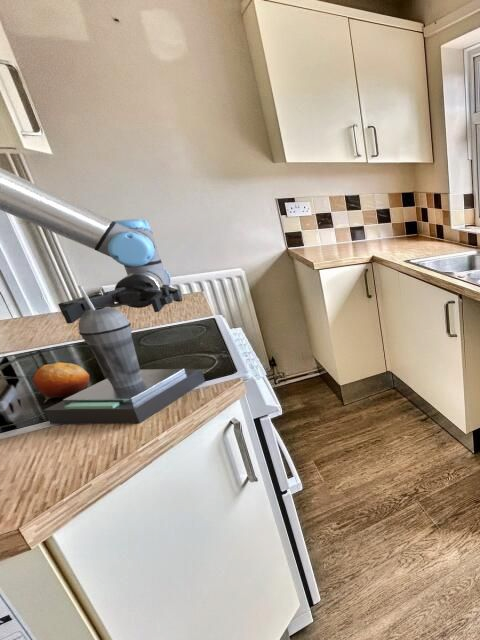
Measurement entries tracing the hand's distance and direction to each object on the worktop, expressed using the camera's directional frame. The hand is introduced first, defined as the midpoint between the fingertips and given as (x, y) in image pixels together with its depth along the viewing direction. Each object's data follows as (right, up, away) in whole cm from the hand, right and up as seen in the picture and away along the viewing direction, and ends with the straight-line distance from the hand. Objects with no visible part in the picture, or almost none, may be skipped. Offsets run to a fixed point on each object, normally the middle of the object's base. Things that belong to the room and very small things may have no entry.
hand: (112, 311), depth 84 cm
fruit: (-13, -17, +5) cm, 22 cm away
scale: (+4, -18, +1) cm, 18 cm away
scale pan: (+4, -15, 0) cm, 16 cm away
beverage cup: (+4, -14, -1) cm, 15 cm away
